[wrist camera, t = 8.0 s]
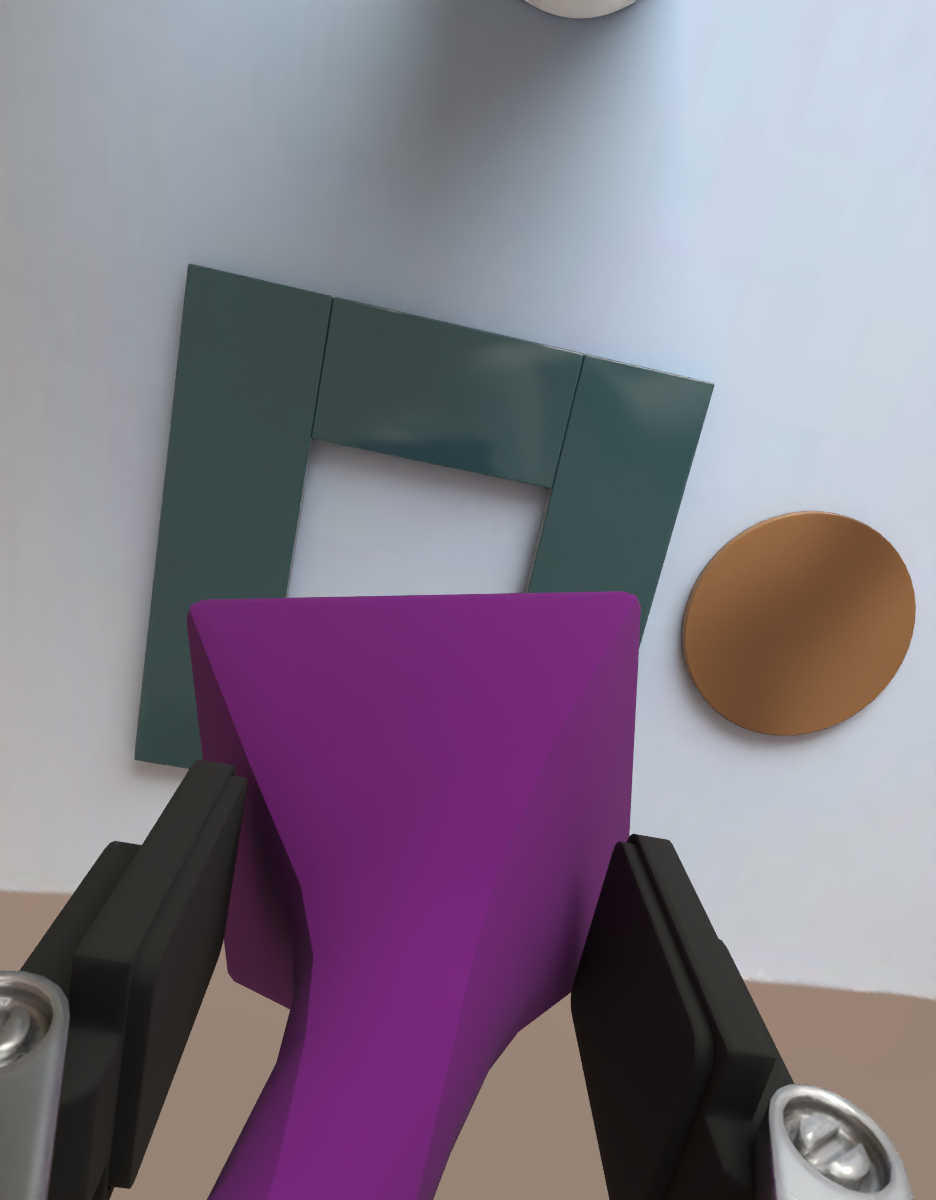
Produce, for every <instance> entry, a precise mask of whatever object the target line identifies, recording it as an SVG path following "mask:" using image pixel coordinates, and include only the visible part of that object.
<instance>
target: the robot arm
mask: <svg viewBox="0 0 936 1200" xmlns="http://www.w3.org/2000/svg"><path fill="white" fill-rule="evenodd" d="M235 775H236V768H235V766H233V765H228V764H222V763H216V762H210V761H204V760H196V761H195V762H194V763H193V765H192V766H191V768H190V769H189V771H188V773H187V774H186V776H185V777H184V779H183V781H182V782H181V784H180V785H179V787H178V789H177V790H176V792H175V793H174V795H173V796H172V798H171V800H170V801H169V803H168V804H167V806H166V808H165V809H164V811H163V812H162V814H161V816H160V817H159V819H158V820H157V822H156V824H155V825H154V827H153V828H152V830H151V832H150V833H149V835H148V836H147V838H146V840H145V841H144V843H143V844H142V845H137V844H131V843H125V842H118V841H113V842H111V843H110V844H109V845H108V846H107V847H106V848H105V849H104V851H103V852H102V854H101V855H100V856H99V858H98V859H97V861H96V862H95V864H94V865H93V866H92V868H91V869H90V871H89V872H88V874H87V875H86V876H85V878H84V879H83V881H82V882H81V884H80V885H79V886H78V888H77V889H76V891H75V892H74V894H73V895H72V896H71V898H70V899H69V901H68V902H67V904H66V905H65V906H64V908H63V909H62V911H61V912H60V914H59V915H58V916H57V918H56V919H55V921H54V922H53V924H52V925H51V926H50V928H49V929H48V931H47V932H46V934H45V935H44V936H43V938H42V939H41V941H40V942H39V944H38V945H37V946H36V948H35V949H34V951H33V952H32V954H31V955H30V957H29V958H28V960H27V961H26V962H25V964H24V965H23V966H22V968H21V969H20V971H0V1200H109V1199H110V1197H111V1194H112V1191H113V1189H114V1187H120V1188H128V1189H129V1188H131V1187H132V1185H133V1183H134V1181H135V1178H136V1176H137V1173H138V1170H139V1168H140V1165H141V1163H142V1160H143V1157H144V1155H145V1152H146V1149H147V1147H148V1144H149V1141H150V1139H151V1136H152V1133H153V1131H154V1128H155V1125H156V1123H157V1120H158V1117H159V1115H160V1112H161V1109H162V1107H163V1104H164V1101H165V1099H166V1096H167V1094H168V1091H169V1088H170V1086H171V1083H172V1080H173V1078H174V1074H175V1072H176V1070H177V1067H178V1064H179V1062H180V1059H181V1056H182V1053H183V1051H184V1048H185V1046H186V1043H187V1040H188V1038H189V1035H190V1032H191V1030H192V1027H193V1024H194V1021H195V1019H196V1016H197V1014H198V1011H199V1008H200V1006H201V1003H202V1000H203V998H204V995H205V993H206V990H207V987H208V985H209V982H210V979H211V977H212V974H213V971H214V969H215V966H216V963H217V961H218V957H219V955H220V951H221V948H222V944H223V940H224V935H225V929H226V923H227V916H228V910H229V903H230V897H231V890H232V883H233V877H234V870H235V864H236V857H237V851H238V844H239V837H240V831H241V824H242V818H243V811H244V805H245V798H246V791H247V784H248V780H247V778H244V777H238V776H235ZM571 1012H572V1017H573V1022H574V1027H575V1032H576V1037H577V1042H578V1047H579V1052H580V1056H581V1061H582V1067H583V1071H584V1076H585V1081H586V1086H587V1091H588V1096H589V1101H590V1106H591V1111H592V1116H593V1120H594V1126H595V1131H596V1135H597V1140H598V1145H599V1150H600V1155H601V1160H602V1165H603V1170H604V1175H605V1180H606V1185H607V1190H608V1194H609V1199H610V1200H914V1197H913V1194H912V1190H911V1186H910V1183H909V1179H908V1176H907V1172H906V1169H905V1167H904V1164H903V1162H902V1160H901V1157H900V1155H899V1153H898V1150H897V1149H896V1147H895V1146H894V1145H893V1143H892V1142H891V1140H890V1139H889V1138H888V1136H887V1135H886V1133H885V1132H884V1131H883V1130H882V1129H881V1128H880V1127H879V1126H878V1125H877V1124H876V1123H875V1122H874V1121H873V1120H872V1119H871V1118H870V1117H869V1116H868V1115H867V1114H866V1113H864V1112H863V1111H862V1110H860V1109H859V1108H857V1107H856V1106H855V1105H854V1104H852V1103H851V1102H849V1101H848V1100H847V1099H845V1098H842V1097H840V1096H838V1095H837V1094H835V1093H833V1092H831V1091H829V1090H827V1089H823V1088H819V1087H816V1086H812V1085H809V1084H794V1082H793V1080H792V1078H791V1076H790V1075H789V1072H788V1070H787V1068H786V1066H785V1064H784V1062H783V1060H782V1058H781V1056H780V1054H779V1052H778V1050H777V1048H776V1046H775V1044H774V1042H773V1040H772V1038H771V1036H770V1034H769V1032H768V1030H767V1028H766V1025H765V1023H764V1021H763V1019H762V1017H761V1015H760V1014H759V1011H758V1009H757V1007H756V1006H755V1003H754V1001H753V999H752V997H751V995H750V993H749V991H748V989H747V987H746V985H745V983H744V981H743V979H742V977H741V975H740V973H739V971H738V969H737V967H736V965H735V963H734V961H733V959H732V957H731V955H730V953H729V951H728V949H727V947H726V946H725V944H724V943H723V941H722V940H720V939H718V937H717V935H716V933H715V931H714V929H713V927H712V925H711V922H710V920H709V918H708V916H707V914H706V912H705V910H704V908H703V906H702V904H701V902H700V900H699V898H698V896H697V894H696V892H695V890H694V888H693V886H692V884H691V881H690V879H689V877H688V875H687V873H686V871H685V869H684V867H683V865H682V863H681V861H680V859H679V857H678V855H677V853H676V851H675V849H674V847H673V845H672V843H671V842H670V841H669V840H666V839H660V838H654V837H648V836H643V835H637V834H632V835H630V837H629V838H628V840H627V842H620V841H619V842H617V843H616V845H615V847H614V849H613V852H612V855H611V859H610V862H609V865H608V869H607V872H606V875H605V879H604V882H603V885H602V889H601V892H600V895H599V899H598V902H597V905H596V909H595V912H594V915H593V919H592V922H591V925H590V928H589V932H588V935H587V938H586V942H585V945H584V948H583V952H582V955H581V958H580V962H579V965H578V968H577V972H576V975H575V978H574V982H573V986H572V992H571Z"/></svg>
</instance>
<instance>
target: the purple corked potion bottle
mask: <svg viewBox="0 0 936 1200" xmlns="http://www.w3.org/2000/svg"><path fill="white" fill-rule="evenodd" d="M640 615H641V606H640V603H639V601H638V598H637V596H636V595H633V594H630V593H628V592H624V591H609V592H558V593H508V594H458V595H407V596H357V597H307V598H257V599H207V600H201V601H199V602H197V603H195V604H192V605H190V609H189V612H188V615H187V630H188V638H189V647H190V655H191V664H192V672H193V681H194V689H195V698H196V706H197V715H198V723H199V732H200V740H201V749H202V757H203V760H204V761H210V762H216V763H222V764H228V765H233V766H235V768H236V775H235V776H238V777H244V778H247V780H248V784H247V791H246V798H245V805H244V811H243V818H242V824H241V831H240V837H239V844H238V851H237V857H236V864H235V870H234V877H233V883H232V890H231V897H230V903H229V910H228V916H227V923H226V929H225V935H224V944H225V952H226V961H227V969H228V973H229V975H230V976H231V978H232V979H233V980H234V981H235V982H237V983H239V984H241V985H243V986H245V987H247V988H249V989H251V990H253V991H255V992H257V993H259V994H261V995H263V996H265V997H267V998H269V999H271V1000H273V1001H275V1002H277V1003H279V1004H281V1005H283V1006H284V1007H286V1008H288V1009H290V1013H289V1017H288V1021H287V1025H286V1029H285V1032H284V1036H283V1040H282V1044H281V1048H280V1051H279V1055H278V1059H277V1063H276V1065H275V1067H274V1069H273V1071H272V1073H271V1075H270V1077H269V1079H268V1081H267V1082H266V1084H265V1087H264V1088H263V1090H262V1093H261V1094H260V1096H259V1098H258V1100H257V1102H256V1104H255V1106H254V1108H253V1110H252V1112H251V1114H250V1116H249V1118H248V1120H247V1122H246V1124H245V1126H244V1128H243V1130H242V1132H241V1134H240V1136H239V1138H238V1140H237V1142H236V1144H235V1145H234V1147H233V1150H232V1151H231V1154H230V1155H229V1157H228V1159H227V1161H226V1163H225V1165H224V1167H223V1169H222V1171H221V1173H220V1175H219V1177H218V1179H217V1181H216V1184H215V1185H214V1187H213V1189H212V1191H211V1193H210V1195H209V1197H208V1199H207V1200H433V1198H434V1196H435V1193H436V1190H437V1188H438V1185H439V1182H440V1180H441V1177H442V1174H443V1171H444V1169H445V1166H446V1163H447V1161H448V1158H449V1156H450V1153H451V1151H452V1149H453V1147H454V1145H455V1142H456V1140H457V1138H458V1136H459V1134H460V1132H461V1129H462V1127H463V1125H464V1123H465V1121H466V1119H467V1116H468V1114H469V1112H470V1110H471V1108H472V1106H473V1104H474V1102H475V1099H476V1097H477V1095H478V1093H479V1091H480V1089H481V1086H482V1084H483V1082H484V1080H485V1078H486V1076H487V1073H488V1071H489V1070H490V1068H491V1067H492V1066H493V1064H494V1063H495V1062H496V1060H497V1059H498V1058H499V1056H500V1055H501V1054H502V1053H503V1051H504V1050H505V1049H506V1047H507V1046H508V1045H509V1043H510V1042H511V1041H512V1040H513V1038H514V1037H515V1036H516V1034H517V1033H518V1032H519V1031H520V1030H521V1029H523V1028H524V1027H525V1026H527V1025H528V1024H529V1023H531V1022H532V1021H533V1020H535V1019H536V1018H537V1017H539V1016H540V1015H541V1014H543V1013H544V1012H545V1011H547V1010H548V1009H549V1008H551V1007H552V1006H553V1005H555V1004H556V1003H557V1002H559V1001H560V1000H561V999H563V998H564V997H565V996H566V995H568V994H569V993H571V992H572V986H573V982H574V978H575V975H576V972H577V968H578V965H579V962H580V958H581V955H582V952H583V948H584V945H585V942H586V938H587V935H588V932H589V928H590V925H591V922H592V919H593V915H594V912H595V909H596V905H597V902H598V899H599V895H600V892H601V889H602V885H603V882H604V879H605V875H606V872H607V869H608V865H609V862H610V859H611V855H612V852H613V849H614V847H615V845H616V843H617V842H619V841H620V842H627V840H628V838H629V829H630V809H631V790H632V770H633V751H634V731H635V712H636V692H637V673H638V654H639V634H640Z"/></svg>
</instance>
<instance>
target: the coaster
mask: <svg viewBox="0 0 936 1200" xmlns="http://www.w3.org/2000/svg"><path fill="white" fill-rule="evenodd" d="M915 609H916V606H915V595H914V589H913V585H912V581H911V578H910V575H909V573H908V570H907V568H906V565H905V564H904V562H903V560H902V558H901V557H900V555H899V553H898V552H897V551H896V550H895V548H894V547H893V546H892V545H891V544H890V542H889V541H887V540H886V539H885V538H884V537H883V536H882V535H881V534H880V533H878V532H877V531H875V530H874V529H872V528H871V527H869V526H868V525H866V524H864V523H861V522H859V521H857V520H855V519H852V518H849V517H846V516H842V515H839V514H836V513H829V512H822V511H802V512H794V513H787V514H784V515H780V516H776V517H772V518H770V519H767V520H765V521H762V522H760V523H758V524H756V525H754V526H752V527H750V528H748V529H746V530H745V531H743V532H742V533H740V534H739V535H737V536H736V537H735V538H733V539H732V540H730V541H729V542H728V543H727V544H726V545H725V546H724V547H723V548H722V549H720V550H719V551H718V552H717V554H716V555H715V556H714V557H713V558H712V559H711V560H710V562H709V563H708V564H707V565H706V567H705V568H704V570H703V571H702V573H701V574H700V576H699V577H698V579H697V581H696V583H695V585H694V587H693V589H692V591H691V594H690V597H689V599H688V602H687V605H686V609H685V614H684V618H683V627H682V648H683V654H684V659H685V663H686V666H687V669H688V672H689V675H690V677H691V679H692V681H693V683H694V685H695V687H696V688H697V690H698V691H699V692H700V694H701V695H702V697H703V698H704V699H705V700H706V701H707V702H708V703H709V704H710V706H711V707H712V708H713V709H714V710H715V711H717V712H718V713H719V714H720V715H722V716H723V717H724V718H726V719H727V720H729V721H731V722H733V723H734V724H736V725H738V726H740V727H743V728H746V729H748V730H751V731H755V732H759V733H763V734H770V735H778V736H783V735H800V734H807V733H811V732H815V731H819V730H823V729H826V728H828V727H831V726H833V725H836V724H838V723H840V722H842V721H844V720H846V719H848V718H850V717H851V716H853V715H854V714H856V713H857V712H859V711H860V710H862V709H863V708H864V707H866V706H867V705H868V704H869V703H870V702H872V701H873V700H874V699H875V698H876V697H877V696H878V695H879V694H880V693H881V692H882V691H883V690H884V689H885V687H886V686H887V685H888V683H889V682H890V681H891V680H892V678H893V677H894V675H895V674H896V672H897V670H898V669H899V667H900V666H901V664H902V662H903V660H904V657H905V655H906V653H907V651H908V648H909V645H910V642H911V638H912V635H913V629H914V624H915Z"/></svg>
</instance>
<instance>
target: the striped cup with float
mask: <svg viewBox="0 0 936 1200" xmlns="http://www.w3.org/2000/svg"><path fill="white" fill-rule="evenodd" d="M525 1H526V2H528V3H529V4H531V5H533V6H535V7H536V8H538V9H540V10H543V11H545V12H548V13H550V14H554V15H557V16H561V17H568V18H593V17H599V16H604V15H607V14H610V13H613V12H616V11H618V10H620V9H623V8H625V7H627V6H628V5H630V4H632V3H634V2H635V1H636V0H525Z"/></svg>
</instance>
